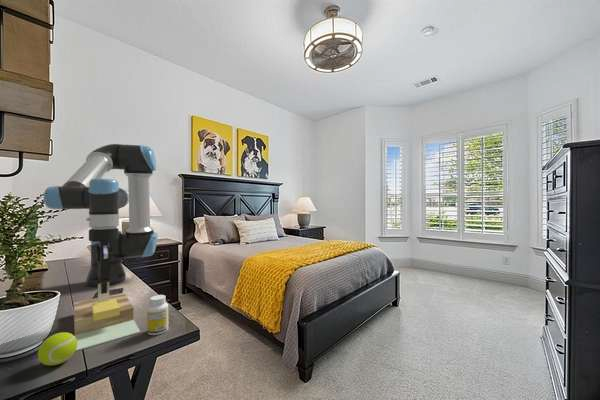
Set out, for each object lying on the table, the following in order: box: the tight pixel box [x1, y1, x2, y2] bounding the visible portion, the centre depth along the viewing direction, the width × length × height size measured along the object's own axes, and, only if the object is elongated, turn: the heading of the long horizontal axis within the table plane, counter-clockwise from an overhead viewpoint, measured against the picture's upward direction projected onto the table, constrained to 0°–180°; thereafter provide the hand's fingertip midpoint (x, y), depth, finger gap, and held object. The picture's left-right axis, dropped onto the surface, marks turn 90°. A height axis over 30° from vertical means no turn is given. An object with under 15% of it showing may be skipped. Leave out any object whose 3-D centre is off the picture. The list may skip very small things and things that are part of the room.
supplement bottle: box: [146, 294, 170, 336], centre depth 75 cm, size 5×5×10 cm
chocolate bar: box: [92, 287, 124, 299], centre depth 101 cm, size 9×1×18 cm
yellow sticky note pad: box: [92, 299, 120, 321], centre depth 77 cm, size 9×6×2 cm, turn 42°
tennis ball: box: [37, 331, 77, 367], centre depth 60 cm, size 7×7×7 cm
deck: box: [73, 292, 134, 336], centre depth 84 cm, size 18×14×4 cm
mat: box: [74, 319, 141, 352], centre depth 73 cm, size 10×14×1 cm
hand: (103, 302), depth 81 cm, fingers closed
